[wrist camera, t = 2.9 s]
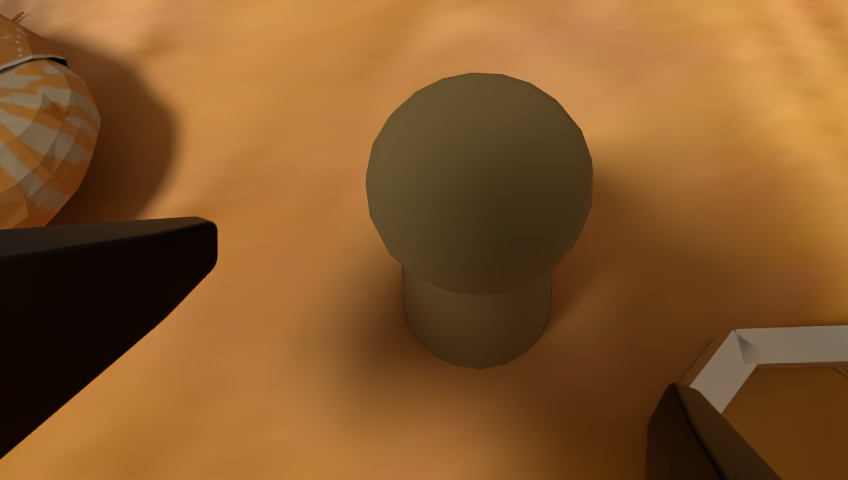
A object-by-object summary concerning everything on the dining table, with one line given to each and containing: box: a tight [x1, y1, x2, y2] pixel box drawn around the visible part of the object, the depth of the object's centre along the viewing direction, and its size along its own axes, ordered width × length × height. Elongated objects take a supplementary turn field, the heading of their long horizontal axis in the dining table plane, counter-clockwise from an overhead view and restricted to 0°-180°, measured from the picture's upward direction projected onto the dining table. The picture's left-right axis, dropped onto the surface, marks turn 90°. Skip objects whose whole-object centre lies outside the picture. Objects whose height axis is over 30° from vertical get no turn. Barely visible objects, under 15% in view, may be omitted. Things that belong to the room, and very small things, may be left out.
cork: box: [366, 73, 593, 369], centre depth 15 cm, size 6×6×11 cm
